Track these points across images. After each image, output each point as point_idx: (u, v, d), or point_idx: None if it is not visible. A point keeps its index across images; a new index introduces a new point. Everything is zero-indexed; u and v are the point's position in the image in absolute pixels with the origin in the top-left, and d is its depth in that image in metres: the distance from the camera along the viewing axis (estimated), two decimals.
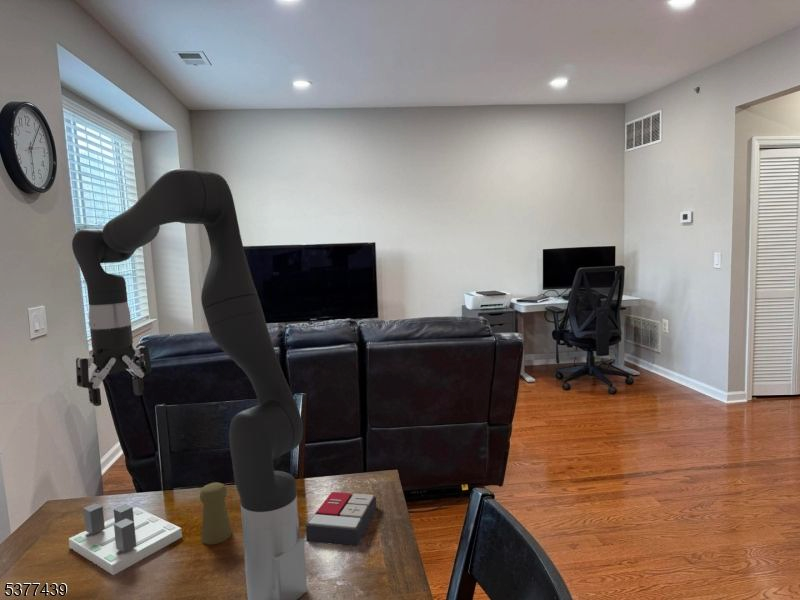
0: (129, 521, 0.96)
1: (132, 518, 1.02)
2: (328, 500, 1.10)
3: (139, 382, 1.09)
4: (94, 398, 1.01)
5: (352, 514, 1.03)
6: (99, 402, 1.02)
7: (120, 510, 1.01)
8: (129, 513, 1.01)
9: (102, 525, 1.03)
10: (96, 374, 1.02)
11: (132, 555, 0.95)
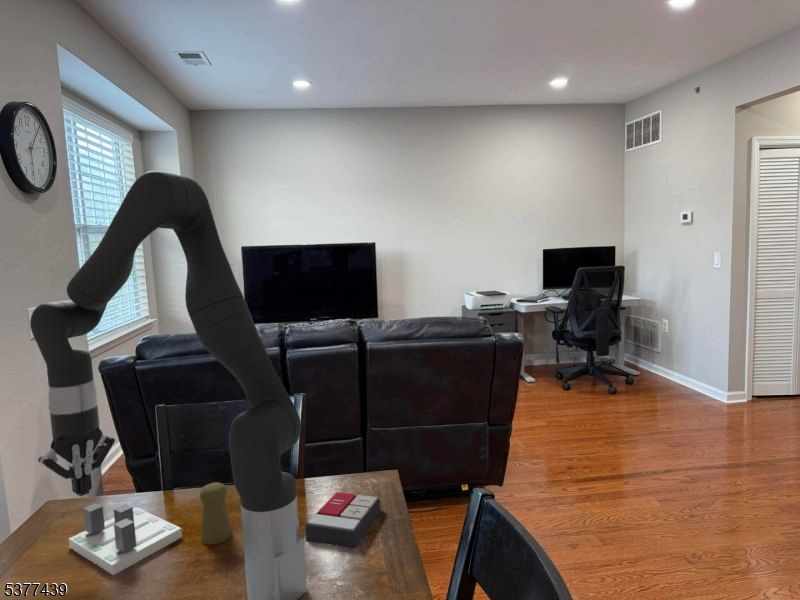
0: (129, 521, 0.96)
1: (132, 518, 1.02)
2: (332, 500, 1.10)
3: (86, 480, 0.95)
4: (77, 488, 0.94)
5: (352, 516, 1.03)
6: (83, 492, 0.94)
7: (120, 510, 1.01)
8: (129, 513, 1.01)
9: (102, 525, 1.03)
10: (71, 464, 0.93)
11: (132, 555, 0.95)
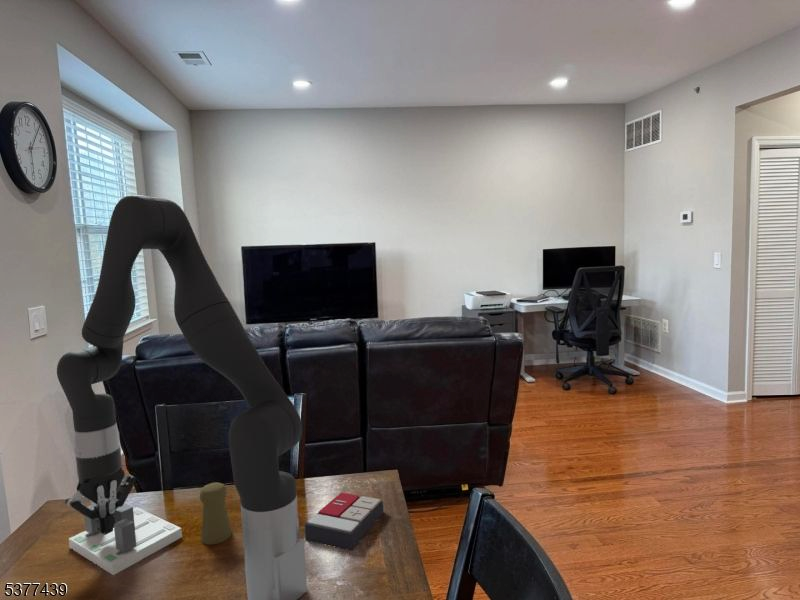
0: (129, 521, 0.96)
1: (132, 518, 1.02)
2: (334, 500, 1.10)
3: (110, 519, 0.98)
4: (102, 527, 0.98)
5: (352, 517, 1.02)
6: (107, 531, 0.98)
7: (120, 510, 1.01)
8: (129, 513, 1.01)
9: None
10: (95, 505, 0.97)
11: (132, 555, 0.95)
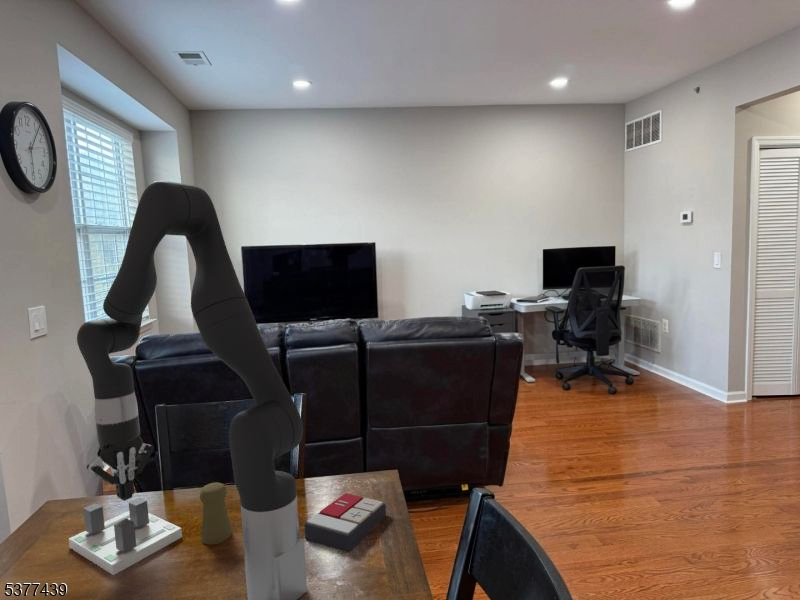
0: (129, 521, 0.96)
1: (146, 511, 1.04)
2: (337, 501, 1.10)
3: (129, 485, 1.01)
4: (121, 493, 1.00)
5: (351, 519, 1.02)
6: (126, 496, 1.01)
7: (134, 503, 1.03)
8: (144, 506, 1.04)
9: (102, 525, 1.03)
10: (115, 471, 1.00)
11: (132, 555, 0.95)
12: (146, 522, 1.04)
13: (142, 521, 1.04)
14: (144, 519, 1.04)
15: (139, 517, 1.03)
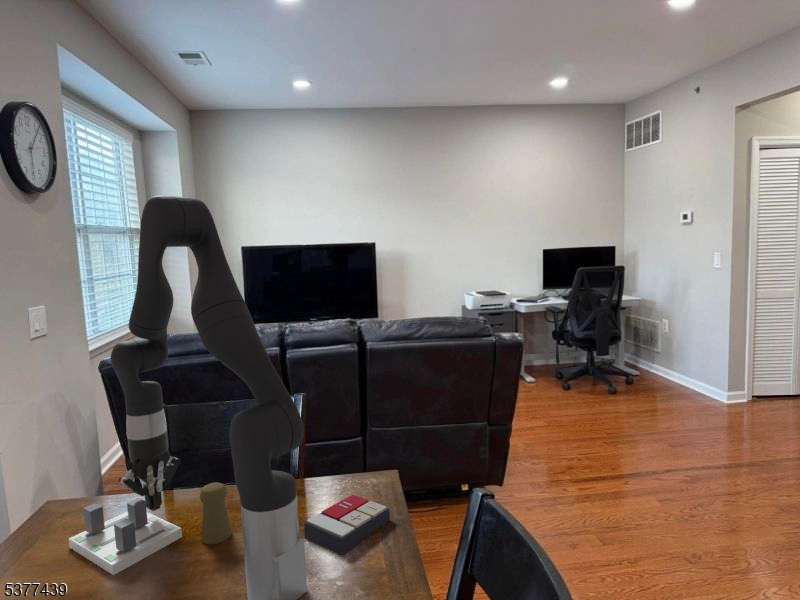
0: (129, 521, 0.96)
1: (145, 512, 1.04)
2: (342, 502, 1.09)
3: (157, 496, 1.07)
4: (150, 504, 1.06)
5: (350, 522, 1.01)
6: (155, 507, 1.06)
7: (133, 504, 1.03)
8: (142, 507, 1.04)
9: (102, 525, 1.03)
10: (145, 483, 1.05)
11: (132, 555, 0.95)
12: (145, 523, 1.04)
13: (141, 522, 1.03)
14: (143, 520, 1.04)
15: (138, 517, 1.03)
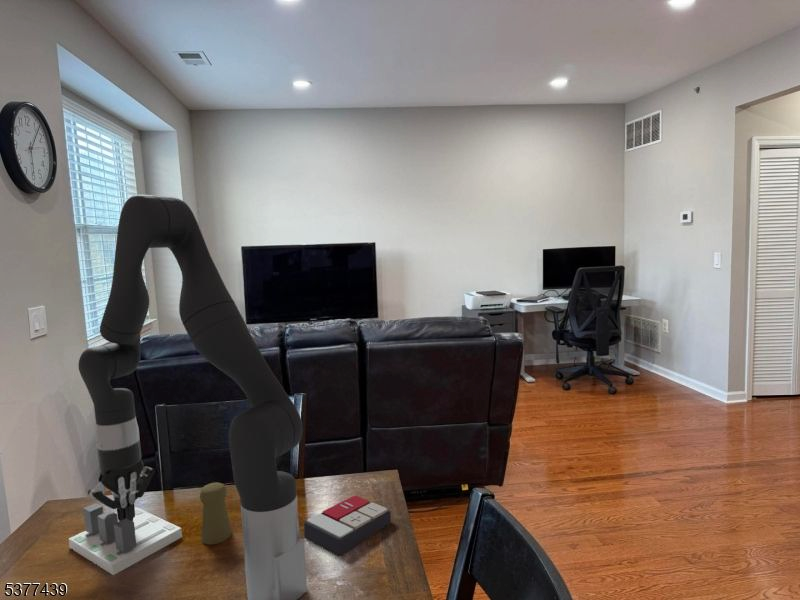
0: (129, 521, 0.96)
1: None
2: (343, 502, 1.09)
3: (130, 509, 1.02)
4: (122, 517, 1.01)
5: (349, 523, 1.00)
6: None
7: (104, 517, 0.98)
8: (113, 520, 0.99)
9: None
10: (116, 495, 1.00)
11: (132, 555, 0.95)
12: None
13: (112, 536, 0.99)
14: (114, 534, 0.99)
15: (108, 531, 0.98)
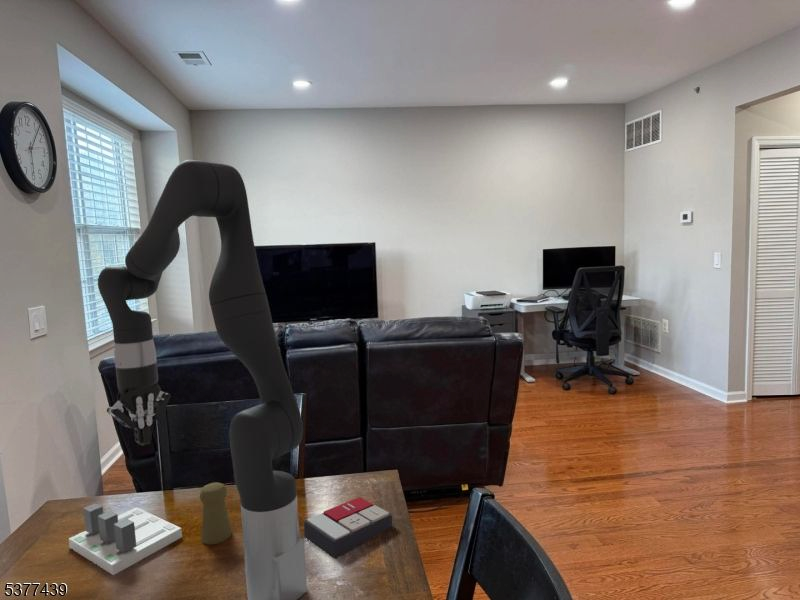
0: (129, 521, 0.96)
1: None
2: (346, 503, 1.08)
3: (147, 430, 1.03)
4: (140, 438, 1.02)
5: (347, 525, 0.99)
6: (145, 441, 1.03)
7: (104, 517, 0.98)
8: (114, 520, 0.99)
9: None
10: (134, 416, 1.02)
11: (132, 555, 0.95)
12: None
13: (112, 536, 0.99)
14: (114, 534, 0.99)
15: (109, 531, 0.98)
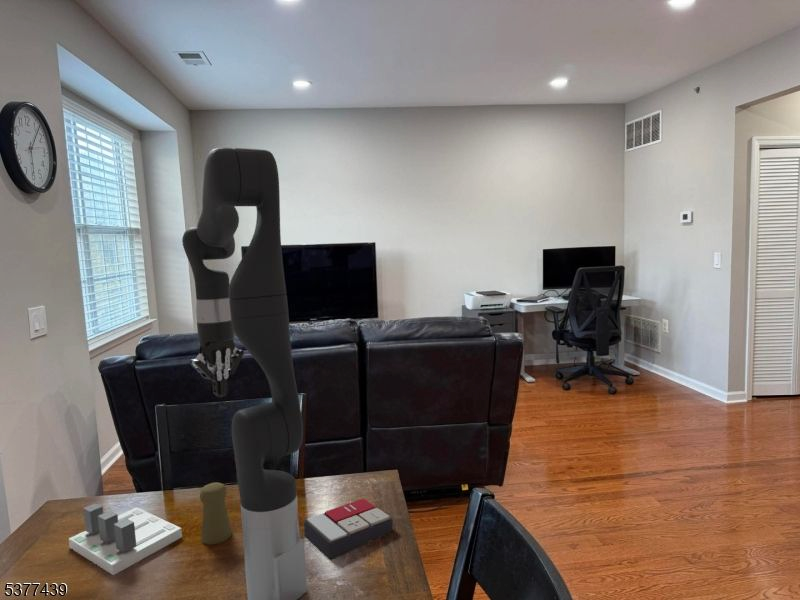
0: (129, 521, 0.96)
1: None
2: (349, 505, 1.08)
3: (224, 383, 1.10)
4: (218, 389, 1.09)
5: (345, 527, 0.99)
6: (222, 393, 1.10)
7: (104, 517, 0.98)
8: (114, 520, 0.99)
9: None
10: (213, 369, 1.09)
11: (132, 555, 0.95)
12: None
13: (112, 536, 0.99)
14: (114, 534, 0.99)
15: (109, 531, 0.98)
